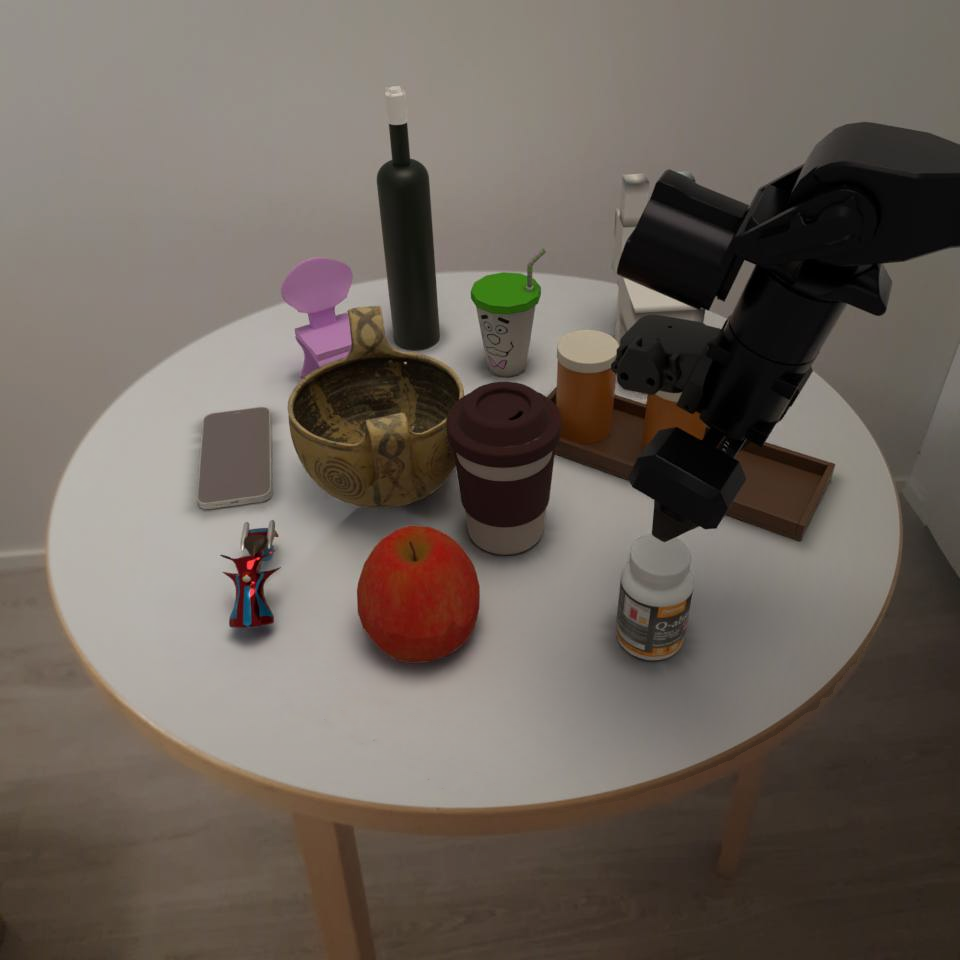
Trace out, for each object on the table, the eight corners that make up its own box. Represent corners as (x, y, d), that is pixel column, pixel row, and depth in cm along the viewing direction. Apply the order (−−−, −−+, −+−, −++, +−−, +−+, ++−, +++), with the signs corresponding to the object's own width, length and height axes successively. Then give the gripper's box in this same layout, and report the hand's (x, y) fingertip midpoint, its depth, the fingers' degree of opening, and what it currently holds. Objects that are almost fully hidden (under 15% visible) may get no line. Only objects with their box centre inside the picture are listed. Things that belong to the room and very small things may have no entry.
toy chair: (321, 416, 101) (299, 298, 92) (291, 379, 107) (268, 263, 97) (387, 393, 105) (373, 275, 95) (355, 357, 110) (339, 243, 100)
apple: (451, 569, 83) (444, 483, 76) (503, 648, 76) (501, 561, 69) (345, 609, 80) (329, 523, 73) (390, 696, 73) (376, 609, 66)
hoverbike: (222, 648, 77) (207, 604, 73) (239, 547, 86) (226, 504, 83) (283, 642, 77) (271, 598, 74) (293, 543, 86) (283, 499, 83)
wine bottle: (447, 330, 114) (431, 82, 95) (428, 354, 110) (407, 100, 91) (406, 322, 116) (382, 76, 96) (385, 345, 112) (356, 94, 93)
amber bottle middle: (710, 448, 94) (724, 366, 88) (687, 482, 91) (700, 399, 84) (654, 430, 97) (664, 349, 90) (630, 463, 93) (638, 380, 86)
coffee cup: (443, 506, 90) (434, 380, 80) (540, 487, 91) (542, 362, 82) (467, 577, 82) (460, 448, 73) (571, 555, 84) (578, 427, 74)
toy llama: (632, 402, 102) (648, 236, 89) (607, 321, 115) (618, 165, 102) (699, 399, 102) (724, 232, 89) (666, 317, 115) (685, 162, 102)
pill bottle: (662, 674, 74) (676, 592, 67) (602, 642, 76) (609, 559, 70) (695, 630, 77) (711, 547, 71) (636, 600, 80) (646, 518, 73)
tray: (831, 479, 91) (835, 463, 90) (800, 541, 85) (804, 525, 83) (563, 392, 104) (564, 378, 102) (518, 441, 97) (518, 426, 96)
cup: (461, 374, 107) (455, 258, 97) (493, 342, 112) (491, 228, 102) (520, 392, 104) (520, 273, 94) (551, 358, 109) (553, 242, 99)
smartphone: (195, 505, 90) (202, 414, 101) (197, 511, 90) (204, 420, 101) (271, 494, 90) (270, 405, 102) (273, 501, 91) (271, 412, 102)
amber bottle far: (622, 420, 99) (629, 339, 92) (596, 451, 95) (602, 369, 88) (571, 403, 101) (574, 323, 94) (544, 433, 97) (545, 352, 91)
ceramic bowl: (490, 544, 85) (486, 416, 76) (309, 573, 83) (280, 446, 74) (451, 407, 102) (443, 287, 92) (298, 428, 100) (274, 308, 90)
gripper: (711, 223, 64) (640, 388, 75) (593, 341, 52) (529, 517, 63) (859, 295, 61) (762, 455, 72) (770, 438, 49) (671, 603, 60)
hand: (683, 501), depth 67 cm, fingers open, 9 cm apart
